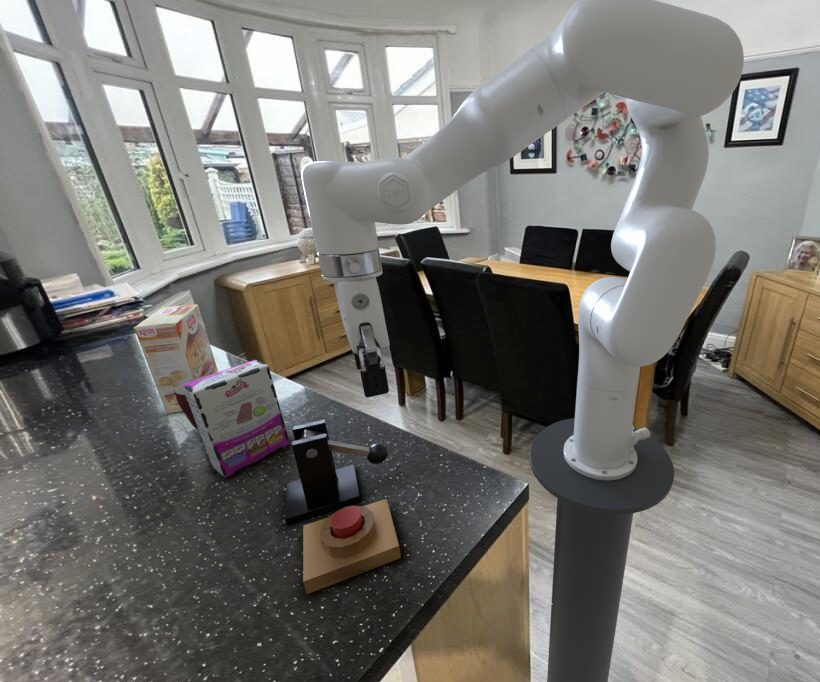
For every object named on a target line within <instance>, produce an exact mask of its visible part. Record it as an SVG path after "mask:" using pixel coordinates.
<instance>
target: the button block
mask: <svg viewBox="0 0 820 682" xmlns="http://www.w3.org/2000/svg"><path fill="white" fill-rule="evenodd" d="M349 507H356V508H358V509H359V510H360V512H361V516H362V521H363V525H362V528H361V529H360V531H359V532H358V533H356V534H355V535H354V536H351V537H348V538H344V539H341V538H337V537H336V536H335V535H334V534H333V530H332V526H331V519H332V517H333V515H334V514H335V513H336V512H337V511H339V510H340V509H337V511H335V512H334V513H332V514H331V515H330V516H328V517H324V518H322V519H319V520H316V521H313V522H310V523H307V524H304V525H303V526H302V535H303V536H302V582H303V586H304V590H305V593H306V595H309V594H311V593H314V592H316V591H319V590H321V589H324V588H327V587H330V586H332V585H334V584H335V585H336V584H337V583H340V582H343V581H345V580H348V579H350V578H353V577H355V576H358V575H360V574H363V573H366V572H369V571H371V570H374V569H376V568H379V567H381V566H384V565H386V564H389V563H391V562H394V561H397V560H399V559H401V558H402V556H401V555H402V554H401V550H400V543H399V540H398V537H397V532H396V528H395V525H394V521H393V517H392V513H391V510H390V506H389V502H388V499H387V498H384V499H382V500H378V501H375V502H372V503H369V504H366V505H349Z"/></svg>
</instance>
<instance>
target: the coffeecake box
mask: <svg viewBox="0 0 820 682" xmlns="http://www.w3.org/2000/svg"><path fill="white" fill-rule="evenodd" d="M133 330H134V332H135V334H136V338H137V340H138V342H139V346H140V349H141V351H142V353H143V356H144V359H145V361H146V364H147V366H148V369H149V372H150V374H151V377H152V380H153V382H154V385H155V389H156V392H157V393H158V395H159V399H160V401H161V404H162V406H163V409H164V413H165V414H166V415H168V414H173V413H179V412H183V411H182V409H181V407H180V406H179V404H178V402H177V399H176V396H175V393H174V390H175V388H176V387H177V386H179V385H180V384H182V383H184V382H186V381H188V380H191V379H194V378H198V377H202V376H208V375H212V374H215V373H218V372H219V369H218V366H217V362H216V360H215V356H214V353H213V350H212V347H211V343H210V340H209V336H208V334H207V330H206V326H205V322H204V320H203V317H202V314H201V310H200V306H199V304H197V303H196V304H184V305H182V304H181V305H175V306H174V305H173V306H162V307H161V308H160V309H158V310H157V311H155V312H154V313H153V314H151V315H150V316H148V317H147V318H145V319H144V320H142V321H141V322H140V323H138V324H137V325H135V326H134V327H133Z"/></svg>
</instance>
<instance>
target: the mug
mask: <svg viewBox="0 0 820 682" xmlns="http://www.w3.org/2000/svg"><path fill="white" fill-rule="evenodd" d="M208 376H209V375H208ZM203 377H206V376H202V377H198V378H194V379H191V380H188V381H186V382H184V383H182V384H180V385H179V386H177V387H176V388H175V390H174V393H175V396H176V399H177V402H178V404H179V406H180V407H181V409H182V411H181V412H183V414H184V416H185V417H186V418H187V420H188V421H189V422H190V424H191V425H192V427H194V428H195V429H196V430H198V431H199V429H198V427H197V424H196V421H195V419H194V416H193V413H192V411H191V408H190V405H189V403H188V400H187V398H186V395H185V393H184V390H183V387H182V385H183V384H186V383H189V382H192V381H195V380H198V379H200V378H203Z"/></svg>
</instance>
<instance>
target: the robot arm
mask: <svg viewBox="0 0 820 682" xmlns="http://www.w3.org/2000/svg"><path fill="white" fill-rule="evenodd" d="M744 61H745V56H744V48H743V45H742V42H741V39H740V37H739V35H738V34H737V32H736V31H735V30H734V29H733V28H732V27H731V26H730V25H729V24H728V23H726V22H724V21H723V20H721V19H719V18H717V17H715V16H712V15H709V14H706V13H702V12H698V11H696V10H695V11H694V10H691V9H688V8H685V7H681V6H677V5H674V4H670V3H666V2H663V1H659V0H577V1H575V3H573V4H572V5H571V6H570V8H569V9H568V11H567V12H566V13H565V15H564V17H563V19H562V20H561V22H560V23H559V25H558V26H557V27H556V28H555V29H554V30H553V31H552V32H550V33H549V34H548V35H546V36H545V37H544V38H542V39H541V40H540V41H538V42H537V43H536V44H534V45H533V46H532V47H530V48H529V49H528V50H526V51H525V52H524V53H523V54H521V55H519V56H518V57H517V58H516V59H514V60H513V61H512V62H510V63H508V65H506V66H504V67H503V68H502V69H500V70H499V71H498V72H496V73H495V74H493V75H492V76H491V77H489V78H488V79H487V80H485V81H483V82H482V83H480V84H479V85H478V86H477V87H476V88H474V89H473V91H472V92H471V93H470V94H469V95H468V96H467V97H466V98H465V99H464V100H463V102H462V103H461V104H460V106H459V108H458V109H457V110H456V112H455V113H454V114H453V116H452V117H451V118H450V119H449V120H448V121H447V122H446V123H445V124H444V125H443V127H441V128H440V129H439V130H438V131H436V132H435V133H434V134H433V135H432V136H431V137H429V138H428V139H426V140H425V141H424V142H423V143H421V144H420V145H419V146H418V147H416V148H415V149H413V150H412V151H410V152H409V153H408V154H406V155H405V156H404V157H385V158H379V159H373V160H369V161H360V162H355V161H345V160H344V161H343V160H328V161H327V160H324V161H323V160H322V161H312V162H309V163H307V164H305V165H304V166H303V167H302V169H301V174H300V175H301V177H300V178H301V183H302V188H303V192H304V197H305V202H306V205H307V212H308V215H309V220H310V225H311V229H312V235H313V240H314V244H315V249H316V254H317V260H318V263H319V269H320V273H321V278H322V280H323V281H326V282H331V283H333V286H334V291H335V296H336V300H337V305H338V309H339V313H340V318H341V322H342V325H343V329H344V331H345V332H344V333H345V335H346V338H347V341H348V343H349V346H350V349H351V352H352V353H353V356H354V361H355V366H356V369H357V370H359V373H360V378H361V384H362V385H361V386H362V389H363V394H364V397H365V398H367V399H368V398H372V397H377V396H380V395H386V394H388V393H390V387H389V381H388V376H387V368H386V365H384V361H383V356H382V352H381V349H385V350H388V349H389V347H390V345H391V343H390V339H389V335H388V329H387V324H386V318H385V312H384V307H383V303H382V297H381V293H380V287H379V285H378V281H377V280H378V279H377V277H380V276H381V275H382V274H383V273H384V272H383V266H382V259H381V253H380V247H379V239H378V234H377V226H376V223H378V224H379V223H380V224H388V225H399V226H401V225H408V224H412V223H415V222H417V221H418V220H420V219H421V218H422V217H423V216H424V215H426V214H427V213H428V212H429V211H430V210H432V209H433V208H435V207H436V206H437V205H438V204H440V203H441V202H443V201H444V200H446V199H447V198H448V197H450V196H451V195H453V194H454V193H456V192H457V191H458V190H460V189H462V188H463V187H464V186H465V185H467V184H468V183H470V182H472V181H473V180H475V179H476V178H477V177H479V176H480V175H482V174H485V173H486V172H488V171H490V170H492V169H495V168H497V167H499V166H501V165H503V164H505V163H506V162H508V161H509V160H511V159H512V158H514V157H515V156H517V155H518V154H520V153H521V152H523V151H524V150H526V148H528V147H529V146H531V145H533V144H534V143H535V142H537V141H538V140H539V139H541V138H542V137H543V136H545V135H546V134H548V133H549V132H550V131H552V130H554V129H555V128H557V127H558V126H559V125H560V124H562V123H563V122H565V121H566V120H568V119H569V118H571V117H572V116H573V115H575V114H576V113H578V112H579V111H581V110H582V109H583V108H585V107H586V106H588V105H589V104H591V103H592V102H593V101H595V100H596V99H598V98H599V97H600V96H602V95H604V94H605V93H607V94H609V95H613V96H616V97H617V96H618V97H621V98H625V105H626V109H627V112H628V114H629V116H630V118H631V120H632V122H633V124H634V126H635V128H636V129H637V133H638V134H639V139H640V143H641V156H640V161H639V166H638V169H637V172H636V175H635V178H634V181H633V184H632V187H631V189H630V191H629V194H628V196H627V199H626V200H625V204H624V206H623V209H622V212H621V213H620V216H619V219H618V221H617V224H616V226H615V228H614V231H613V234H612V238H611V243H610V249H611V254H612V257H613V258H614V260H615V261H616V263H617V264H618V265H620V266H621V267H622V268H623V269H624V270H626V271H628V272H629V274H628V277H627V279H626V278H623V277H618V276H606V277H605V276H604V277H601V278H598V279H597V280H595V281H594V282H591V284H590V285H588V286H587V287H586V289H585V290H584V292H583V293H582V295H581V298H580V301H579V304H578V311H577V326H578V347H579V348H578V351H579V352H578V367H577V369H578V370H577V381H576V394H575V395H576V396H575V397H576V398H575V407H574V408H575V409H574V418H575V422H574V435H573V436H571V437H570V438H569V439H568V440H567V441H566V443H565V445H564V457H565V460H566V462H567V463H568V464H569V466H570V467H571V468H573V469H574V470H575V471H577V472H578V473H580V474H582V475H584V476H586V477H589V478H593V479H597V480H618V479H621V478H624V477H626V476H628V475H630V474H631V473H632V472H633V471H634V470H635V468H636V465H637V458H638V457H637V453H636V451H635V449H634V448H633V447H634V445H636V444H637V442H638V441H642V440H644V439H647V438H649V437H650V436H651V432H650V430H649V429H648V427H642V428H638V429H639V430H637V431H635V432H633V431H634V427H635V426H634V425H633V423H634V416H635V409H636V402H637V394H638V386H639V381H640V375H641V367H642V368H643V367H647V366H650V365H653V364H655V363H656V362H658V361H660V360H661V359H662V358H664V357H665V356H666V354H667V353H669V351H670V350H671V349H672V348H673V346H674V345H675V343H676V341H677V340H678V338H679V336H680V335H681V332H682V330H683V328H684V326H685V324H686V322H687V321H688V318H689V316H690V314H691V312H692V311H693V310H692V309H693V308H694V307H695V304H696V302H697V300H698V298H699V296H700V294H701V292H702V290H703V288H704V286H705V283H706V281H707V279H708V277H709V275H710V273H711V270H712V268H713V265H714V261H715V258H716V248H717V243H716V234H715V231H714V229H713V226H712V224H711V223H710V222H709V220H708V219H707V217H705V216H704V215H703V214H701V213H700V212H698V211H696V210H694V209H693V208H694V206H695V202H696V200H697V197H698V195H699V192H700V190H701V187H702V184H703V182H704V180H705V177H706V173H707V169H708V164H709V157H710V154H709V153H710V152H709V151H710V150H709V142H708V137H707V132H706V128H705V125H704V121H703V118H702V116H705V115H708V114H710V113H711V112H713V111H715V110H716V109H719V108H720V107H721V106H722V105H723V104H724V103H725V102H726V101H727V100H728V99H729V98H730V97H731V95H733V93H734V91H735V90H736V88H737V86H738V85H739V82H740V80H741V78H742V75H743V70H744V63H745V62H744Z"/></svg>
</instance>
